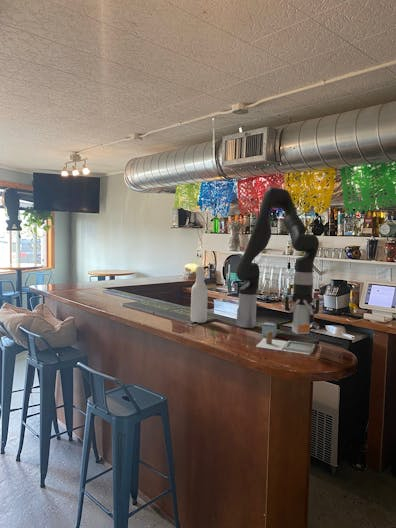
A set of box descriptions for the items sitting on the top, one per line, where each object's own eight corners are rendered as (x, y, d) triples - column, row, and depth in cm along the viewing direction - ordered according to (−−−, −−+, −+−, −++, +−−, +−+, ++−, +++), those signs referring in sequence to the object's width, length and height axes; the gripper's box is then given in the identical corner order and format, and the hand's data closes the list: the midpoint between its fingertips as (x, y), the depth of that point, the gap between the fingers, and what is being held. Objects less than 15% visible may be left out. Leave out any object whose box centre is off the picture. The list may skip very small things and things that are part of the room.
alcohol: (187, 321, 213) (189, 266, 211) (195, 318, 221) (197, 265, 218) (202, 324, 209) (204, 267, 207) (209, 320, 217) (211, 266, 214)
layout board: (255, 350, 165) (256, 334, 165) (263, 341, 179) (264, 327, 179) (311, 358, 157) (312, 342, 156) (315, 348, 170) (316, 333, 170)
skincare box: (296, 334, 162) (298, 305, 161) (291, 331, 166) (293, 303, 165) (309, 333, 164) (311, 305, 163) (304, 331, 168) (305, 303, 167)
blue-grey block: (261, 339, 183) (262, 324, 182) (264, 336, 188) (265, 321, 187) (273, 340, 181) (274, 325, 180) (276, 338, 186) (276, 323, 185)
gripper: (322, 283, 164) (319, 322, 165) (287, 280, 170) (285, 318, 171) (320, 285, 157) (318, 326, 159) (284, 282, 163) (282, 322, 164)
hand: (301, 322), depth 165 cm, fingers closed on skincare box, 7 cm apart
